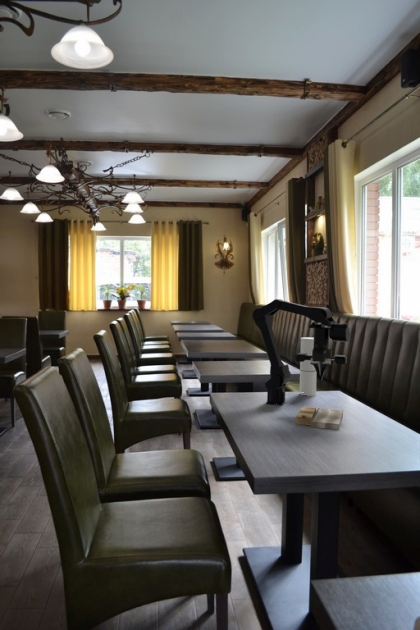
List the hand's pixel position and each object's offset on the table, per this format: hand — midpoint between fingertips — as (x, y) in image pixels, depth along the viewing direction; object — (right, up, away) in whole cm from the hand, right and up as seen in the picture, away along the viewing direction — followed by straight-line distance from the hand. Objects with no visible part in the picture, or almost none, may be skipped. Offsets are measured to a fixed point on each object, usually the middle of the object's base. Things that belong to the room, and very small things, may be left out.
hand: (320, 380), depth 181 cm
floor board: (-1, -12, -16) cm, 20 cm away
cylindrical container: (+1, -10, +28) cm, 29 cm away
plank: (-8, -11, -14) cm, 20 cm away
